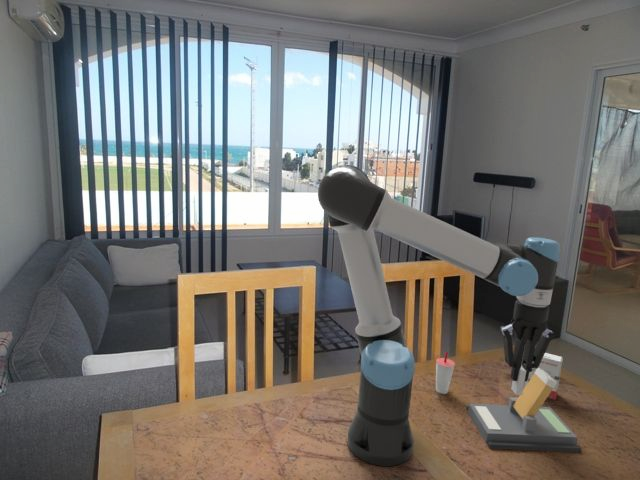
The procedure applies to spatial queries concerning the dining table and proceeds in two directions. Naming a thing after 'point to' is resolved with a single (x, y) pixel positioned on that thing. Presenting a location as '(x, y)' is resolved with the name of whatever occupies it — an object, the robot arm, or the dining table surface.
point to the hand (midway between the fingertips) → (516, 392)
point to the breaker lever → (534, 394)
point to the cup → (444, 374)
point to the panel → (520, 425)
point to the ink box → (549, 371)
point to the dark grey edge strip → (534, 446)
